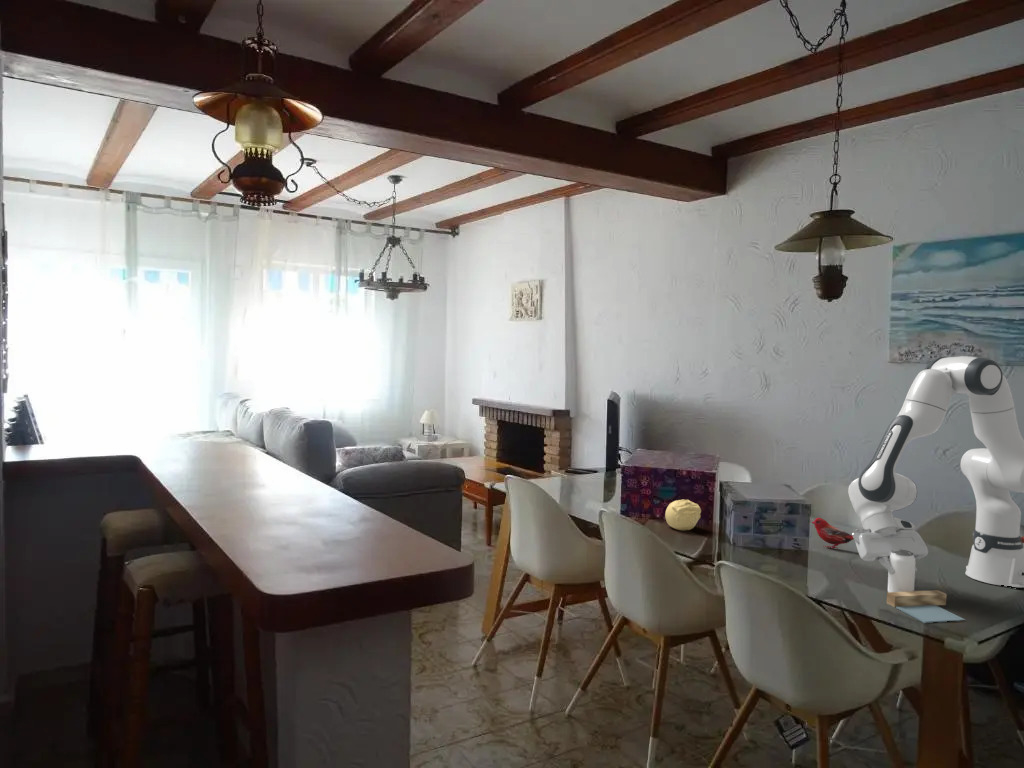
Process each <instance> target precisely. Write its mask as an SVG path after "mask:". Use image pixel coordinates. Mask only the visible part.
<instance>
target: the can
mask: <svg viewBox="0 0 1024 768" xmlns="http://www.w3.org/2000/svg"><path fill="white" fill-rule="evenodd" d="M899 550H900V551H893V550H891V554H890V556H889V562H890V564H891V565H892V567H893V569H894V570H895V573H893V574H890V573H889V571H888V570H887V571H888V572H887V573H888V574H887V576H888V577H887V592H907V591H915V579H916V578H915V577H916V575H915V574H916V573H915V566H916V562H915V558H914V553H913V552H910V551H907V550H901V549H899ZM892 551H893V552H892Z"/></svg>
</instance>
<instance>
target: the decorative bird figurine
mask: <svg viewBox="0 0 1024 768" xmlns="http://www.w3.org/2000/svg"><path fill="white" fill-rule="evenodd" d="M811 524H813V525H814V529H815V530H816V533H817V535H818V536H819V538H820V539H821V540H823V541H824V542H825V543H827V544H830V545H831V546H830V545H824V546H825V548H827V547H832V548H831V549H833V548H837V549H838V547H837V546H839V545H843V544H847V543H848V544H849V543H850V542H851V541H855V540H854V538H853V534H852V535H851V534H850V533H848V532H847V531H844V530H842V529H841V528H837V527H835V526H833V525H831V524H829V522H828V521H826V520H825V519H823V518H821V517H816V518H815V519H814V520H813V521H812V522H811Z"/></svg>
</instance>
